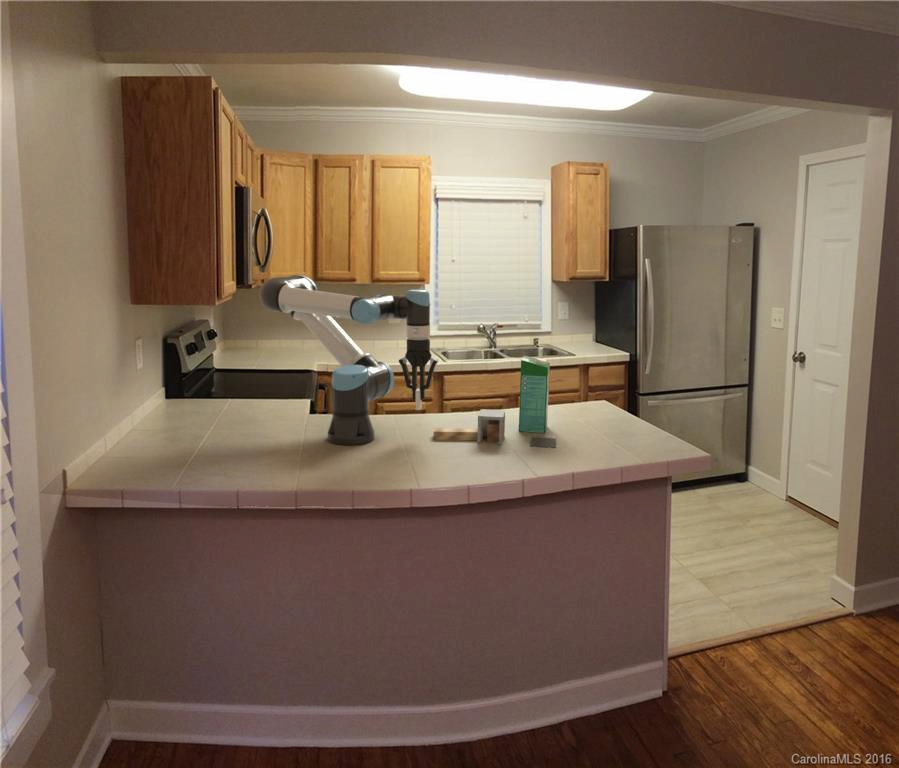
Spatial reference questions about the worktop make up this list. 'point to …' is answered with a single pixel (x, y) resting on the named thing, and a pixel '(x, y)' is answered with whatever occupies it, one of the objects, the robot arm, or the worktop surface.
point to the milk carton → (534, 395)
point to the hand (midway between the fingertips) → (418, 409)
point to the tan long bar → (456, 434)
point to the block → (494, 431)
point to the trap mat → (543, 442)
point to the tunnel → (484, 419)
